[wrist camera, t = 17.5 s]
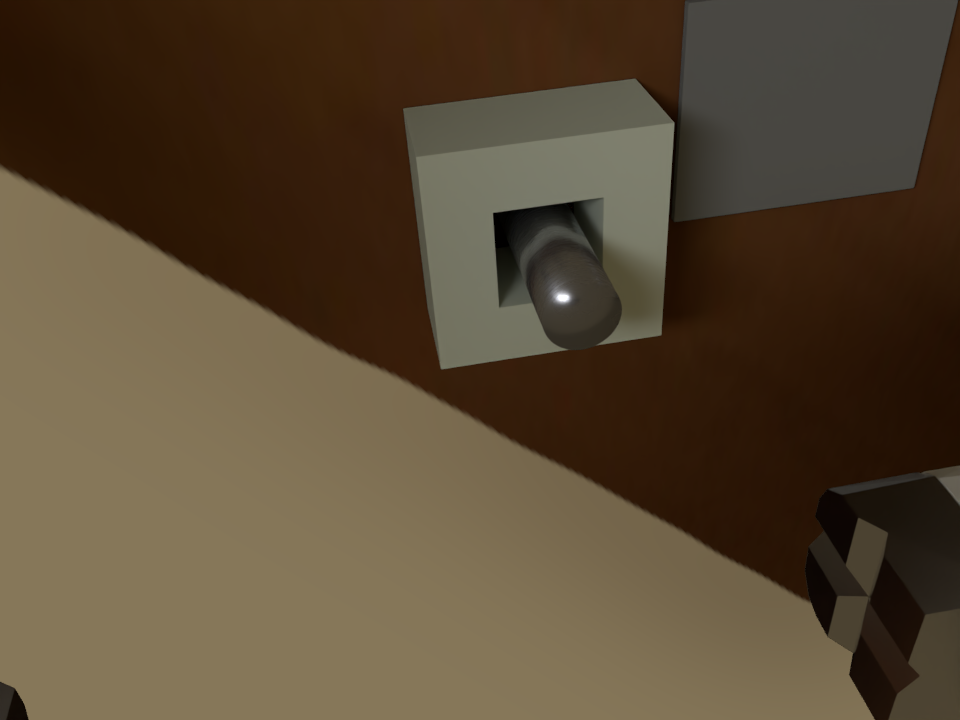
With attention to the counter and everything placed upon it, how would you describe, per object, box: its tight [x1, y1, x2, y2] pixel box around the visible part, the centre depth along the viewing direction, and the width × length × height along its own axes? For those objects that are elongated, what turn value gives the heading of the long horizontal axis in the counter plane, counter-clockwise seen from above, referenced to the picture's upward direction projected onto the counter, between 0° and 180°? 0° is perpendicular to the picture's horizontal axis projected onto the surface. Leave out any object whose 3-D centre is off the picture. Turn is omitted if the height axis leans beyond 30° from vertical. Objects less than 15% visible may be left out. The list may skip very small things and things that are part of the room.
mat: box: [671, 0, 958, 222], centre depth 41 cm, size 12×10×1 cm
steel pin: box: [496, 203, 622, 350], centre depth 38 cm, size 3×3×10 cm
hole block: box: [403, 79, 674, 369], centre depth 40 cm, size 10×10×5 cm
